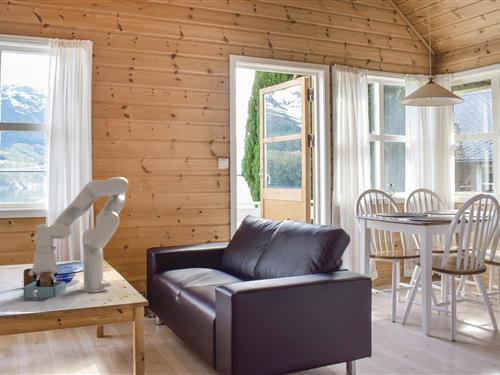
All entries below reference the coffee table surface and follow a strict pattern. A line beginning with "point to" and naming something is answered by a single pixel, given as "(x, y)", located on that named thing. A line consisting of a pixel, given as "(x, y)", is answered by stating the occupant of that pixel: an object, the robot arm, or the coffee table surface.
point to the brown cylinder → (45, 279)
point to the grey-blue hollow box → (34, 297)
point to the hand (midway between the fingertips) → (45, 286)
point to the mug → (28, 277)
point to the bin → (45, 290)
